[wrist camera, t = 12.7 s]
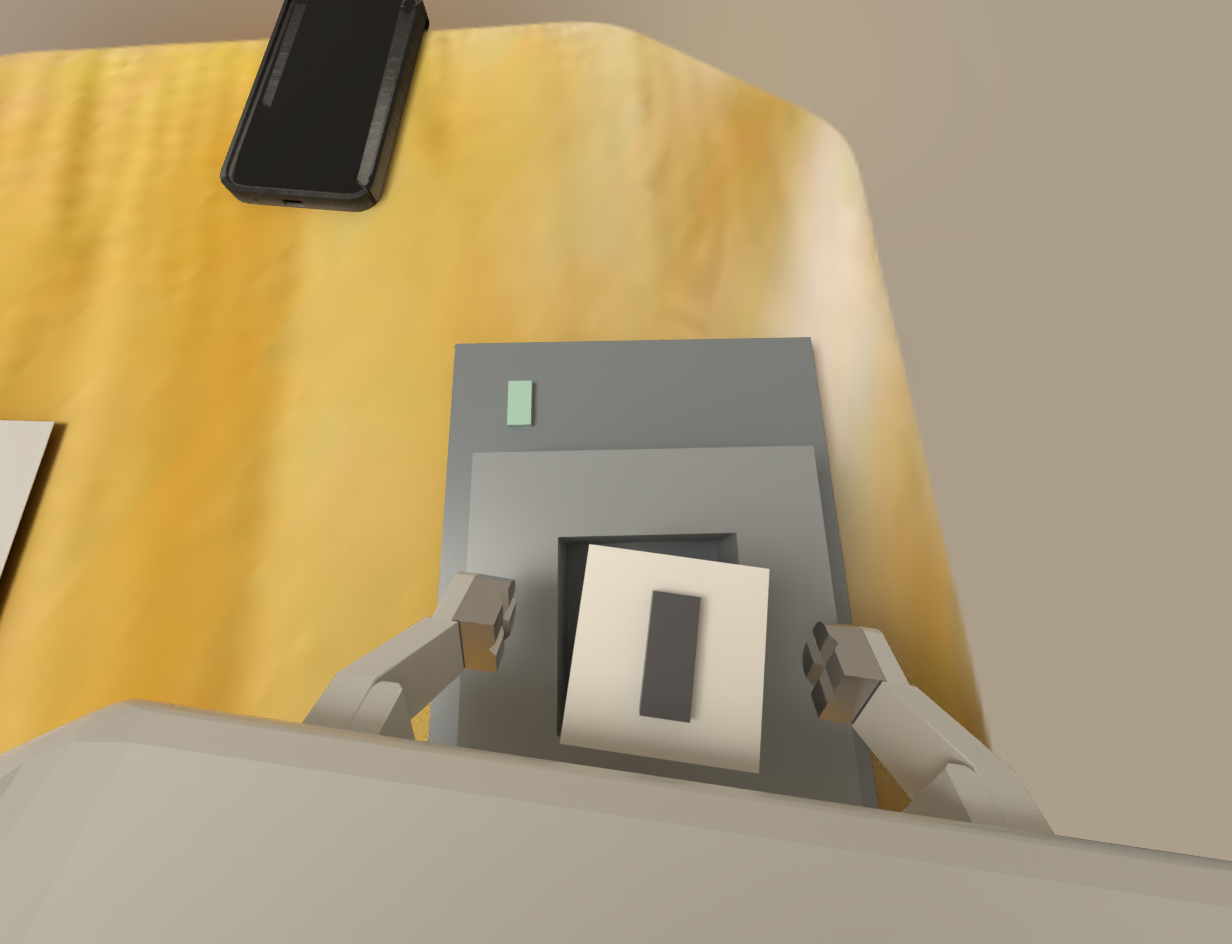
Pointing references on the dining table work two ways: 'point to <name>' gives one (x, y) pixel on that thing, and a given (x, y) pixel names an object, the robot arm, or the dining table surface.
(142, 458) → the dining table surface
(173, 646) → the dining table surface
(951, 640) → the dining table surface
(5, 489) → the paper stack
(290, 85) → the phone
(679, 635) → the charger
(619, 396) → the power dock
